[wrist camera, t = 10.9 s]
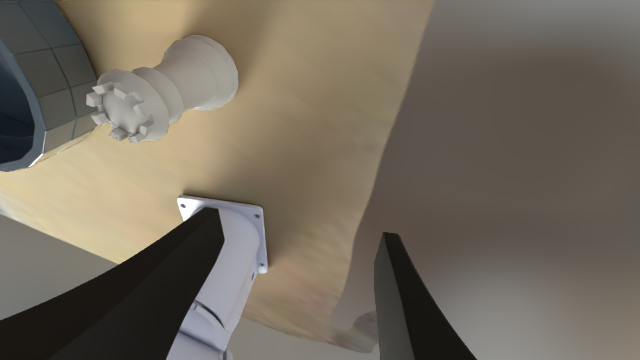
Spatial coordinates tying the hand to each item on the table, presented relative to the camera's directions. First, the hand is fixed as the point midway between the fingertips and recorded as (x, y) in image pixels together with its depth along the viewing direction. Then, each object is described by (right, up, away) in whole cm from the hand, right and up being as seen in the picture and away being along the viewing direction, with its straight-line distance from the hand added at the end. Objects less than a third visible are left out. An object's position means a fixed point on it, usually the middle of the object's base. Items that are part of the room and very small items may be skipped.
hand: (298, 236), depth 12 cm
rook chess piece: (-6, +10, +6) cm, 13 cm away
